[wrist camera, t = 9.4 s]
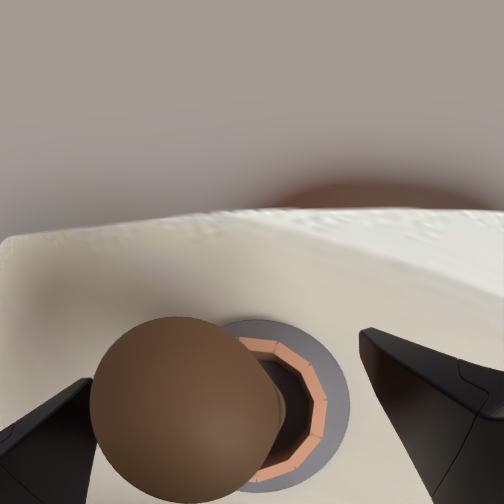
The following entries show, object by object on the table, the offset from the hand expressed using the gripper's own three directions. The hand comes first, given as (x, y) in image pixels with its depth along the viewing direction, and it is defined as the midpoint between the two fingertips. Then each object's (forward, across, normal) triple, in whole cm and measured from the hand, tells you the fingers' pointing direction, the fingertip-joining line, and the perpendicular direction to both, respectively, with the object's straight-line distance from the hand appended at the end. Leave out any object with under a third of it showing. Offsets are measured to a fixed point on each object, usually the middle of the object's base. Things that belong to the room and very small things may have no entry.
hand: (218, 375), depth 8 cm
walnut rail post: (+5, 0, +7) cm, 9 cm away
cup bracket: (+6, 0, +8) cm, 10 cm away
